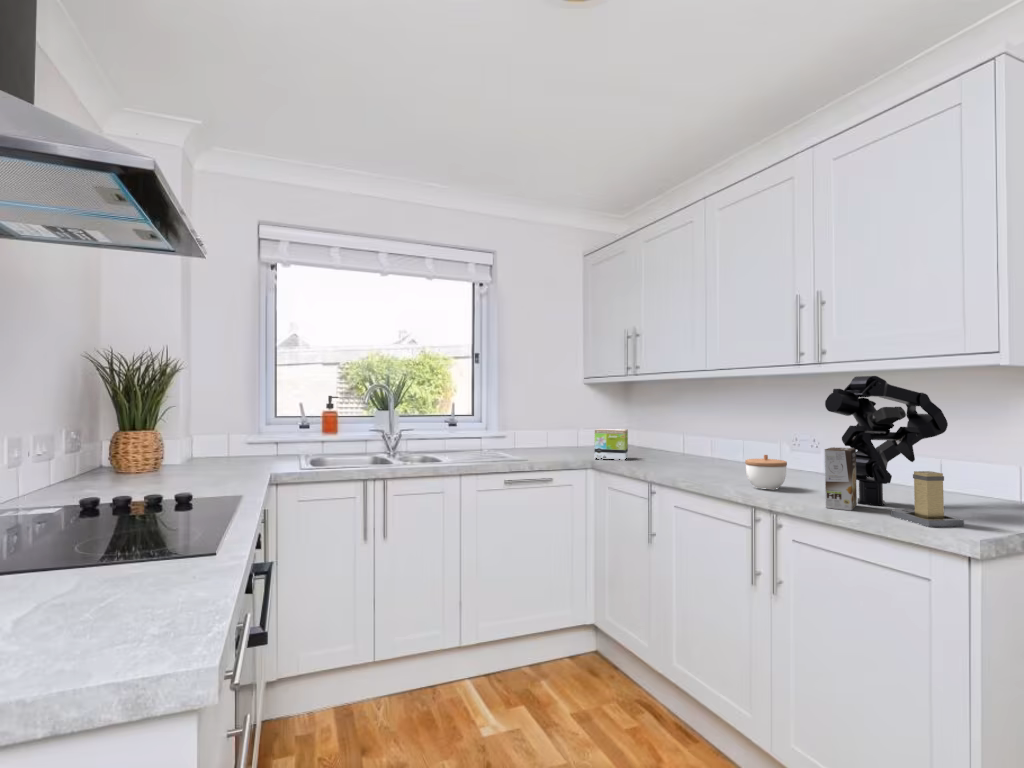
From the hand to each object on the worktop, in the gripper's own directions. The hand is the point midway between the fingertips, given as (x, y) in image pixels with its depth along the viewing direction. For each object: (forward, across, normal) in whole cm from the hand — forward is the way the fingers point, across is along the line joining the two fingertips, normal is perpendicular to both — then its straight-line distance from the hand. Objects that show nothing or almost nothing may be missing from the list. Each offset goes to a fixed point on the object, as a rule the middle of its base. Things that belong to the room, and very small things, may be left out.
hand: (896, 460), depth 145 cm
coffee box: (+3, -8, +17) cm, 19 cm away
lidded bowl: (-19, -13, +39) cm, 45 cm away
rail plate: (+17, +1, +3) cm, 17 cm away
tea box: (-81, -44, +102) cm, 137 cm away
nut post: (+17, +1, +3) cm, 17 cm away
